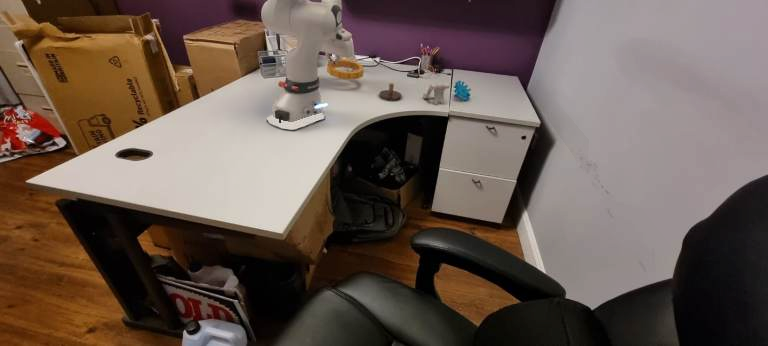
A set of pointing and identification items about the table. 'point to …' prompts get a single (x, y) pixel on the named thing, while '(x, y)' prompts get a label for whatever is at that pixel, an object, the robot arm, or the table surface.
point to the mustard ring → (345, 74)
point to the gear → (462, 91)
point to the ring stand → (390, 94)
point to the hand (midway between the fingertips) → (332, 63)
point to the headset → (352, 58)
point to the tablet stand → (436, 92)
